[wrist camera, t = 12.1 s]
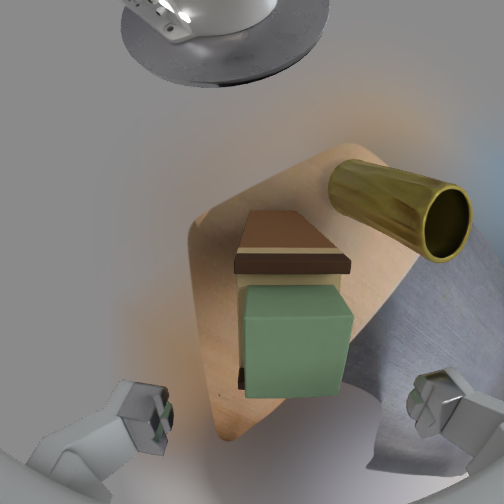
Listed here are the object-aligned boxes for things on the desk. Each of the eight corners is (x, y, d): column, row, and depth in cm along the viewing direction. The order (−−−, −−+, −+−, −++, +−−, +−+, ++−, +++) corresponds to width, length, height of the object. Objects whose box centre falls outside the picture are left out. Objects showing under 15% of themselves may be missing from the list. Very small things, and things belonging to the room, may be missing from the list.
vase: (320, 168, 26) (410, 191, 13) (370, 152, 26) (473, 167, 13) (335, 224, 28) (418, 285, 15) (382, 205, 28) (476, 250, 15)
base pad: (249, 210, 29) (233, 260, 11) (296, 210, 29) (352, 260, 11) (250, 273, 30) (238, 390, 13) (294, 273, 30) (332, 387, 13)
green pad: (247, 284, 13) (242, 317, 9) (334, 283, 12) (355, 315, 9) (248, 356, 14) (245, 399, 10) (325, 354, 13) (338, 395, 10)
